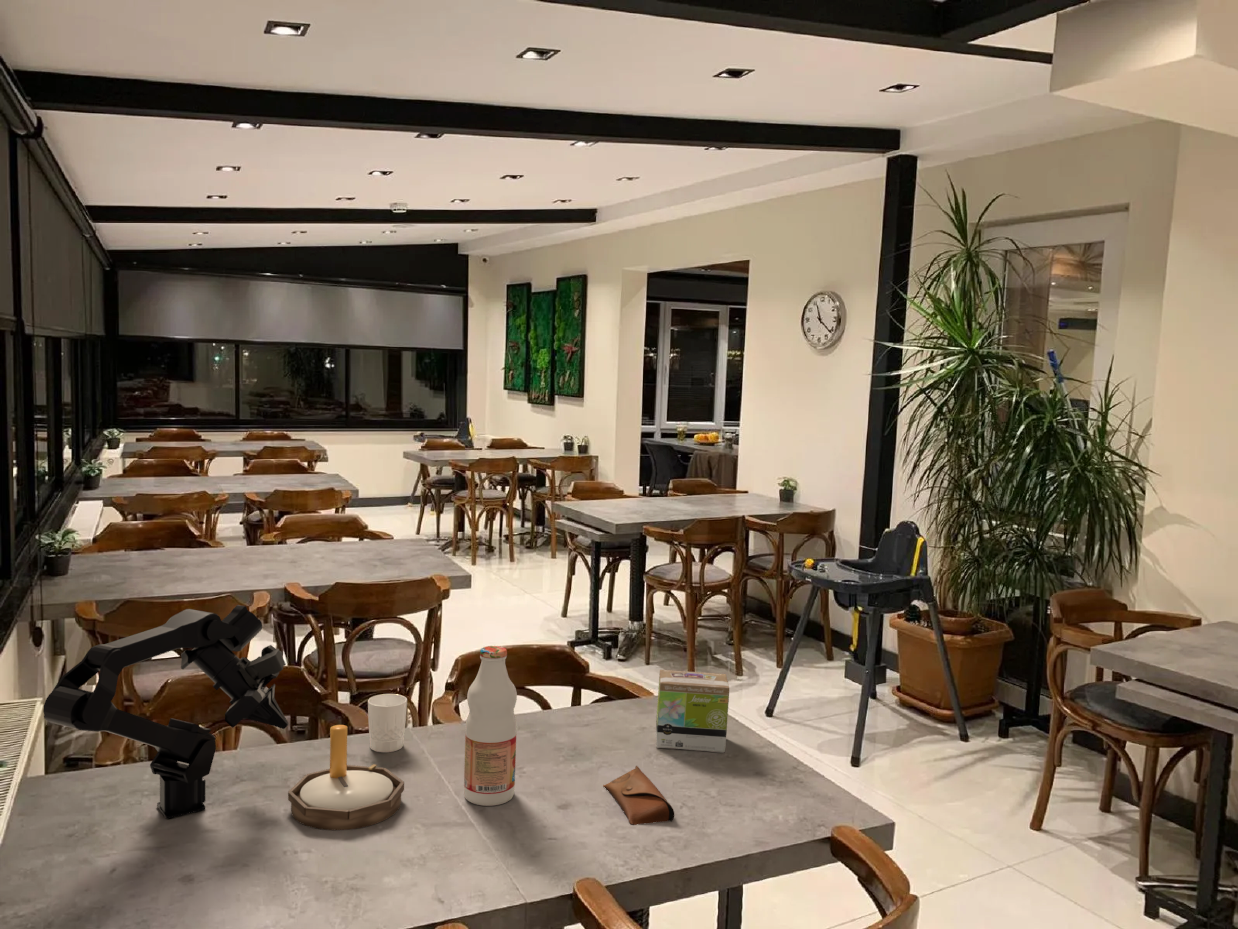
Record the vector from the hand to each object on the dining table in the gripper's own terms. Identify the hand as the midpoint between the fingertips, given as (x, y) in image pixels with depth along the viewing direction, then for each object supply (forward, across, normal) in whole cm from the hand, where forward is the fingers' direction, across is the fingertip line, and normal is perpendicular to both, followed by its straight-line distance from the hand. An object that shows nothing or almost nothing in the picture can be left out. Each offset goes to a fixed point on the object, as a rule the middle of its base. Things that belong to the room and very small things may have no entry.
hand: (286, 726), depth 175 cm
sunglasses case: (+55, -8, -36) cm, 66 cm away
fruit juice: (+35, -4, -17) cm, 39 cm away
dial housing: (+17, -6, 0) cm, 18 cm away
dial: (+15, -6, -1) cm, 17 cm away
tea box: (+66, +20, -49) cm, 84 cm away
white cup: (+20, +21, -3) cm, 30 cm away
